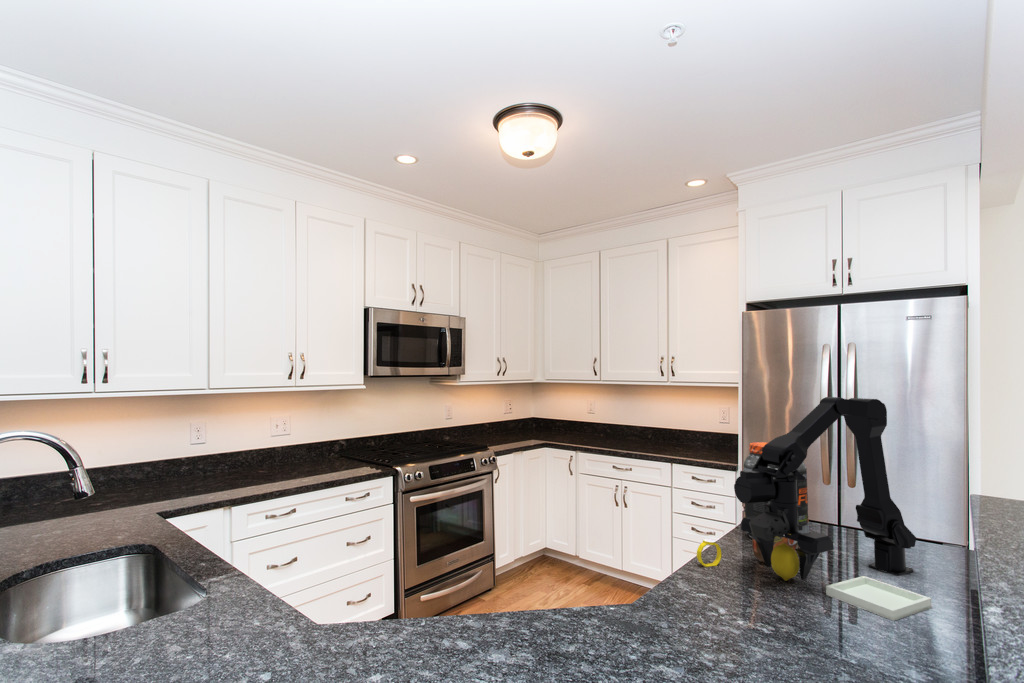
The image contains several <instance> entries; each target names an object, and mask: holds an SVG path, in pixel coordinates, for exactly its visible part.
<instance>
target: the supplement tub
mask: <svg viewBox="0 0 1024 683" xmlns="http://www.w3.org/2000/svg"><path fill="white" fill-rule="evenodd" d="M769 442H770V441H766V442H765V441H759V442H758V441H755V442H750V443H749V449H748V451H749V454H748V455H747V456H746V457H745V459H744V461H743V471H752V469H753V467H754V465H755V464H756V462H757V460H758V459H759V457H760V455H761V454H762V449H763V447H764V446H765V445H766V444H767V443H769ZM768 467H769V466H768ZM769 468H772V467H769ZM773 469H776V468H773ZM777 470H778V469H777ZM797 470H798V471H799V473H800V474H802V475H803V476H804V477H805V480H797V503H798V506H802V511H799V512H798V524H799V525H802V529H803V530H800V531H799V533H808V532H810V526H809V525H810V524H809V523H810V522H809V501H808V500H809V499H808V498H809V496H808V472H807V467H806V463H805V462H804V461H803V463H802V464H801V466H800V467H799V468H798V469H797ZM765 504H769V502H759V503H744V510H745V511H744V516H745V517H751V516H758V515H760V514H762V513H763V512H764V506H765ZM747 533H749V532H746V534H747ZM749 537H750V538H752V537H751V536H749Z"/></svg>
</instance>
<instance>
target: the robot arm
mask: <svg viewBox="0 0 1024 683" xmlns="http://www.w3.org/2000/svg"><path fill="white" fill-rule="evenodd" d="M887 413H888V410H887V406H886V404H885V403H883V401H881V400H879V399H878V398H862V397H861V398H859V397H850V398H843V397H838V396H836V397H835V396H826V397H824V398H822V399H821V400H820V401H819V404H817V406H815V407H814V408H813V409H812V410H811V411H810V412H809V413H808V414H807V415H806V416H805V417H804V418H803V419H801V421H800V422H798V423H797V424H796V425H795V426H794V427H793V428H792V429H791V430H790V431H789V432H787V433H785V434H782V435H780V436H777V437H774V438H773V439H772V440H770V441H768V442H769V443H767V444H766V445H765V446H764V447H763V449H762V454H761V455H760V457H759V459H758V460H757V462H756V464H755V465H754V467H753V469H752V471H744V470H740V471H739V476H738V477H737V478H736V480H735V483H734V484H733V489H734V494H735V497H736V499H738V501H739V502H740V503H741V504H745V503H759V502H769V504H765V506H764V512H763V513H762V514H760V515H758V516H751V517H743V518H742V520H741V521H740V529H741V531H743V532H746V534H747V535H748V537H750V536H751V537H750V538H751V539H752V538H753V539H754V540H755V541H756V542H757V544H758V546H759V549H760V551H761V554H762V556H763V559H764V561H765V562H764V565H765V566H766V567H767V568H770V567H771V568H772V564H771V554H772V551H773V545H774V538H775V537H776V536H778V537H785V538H788V539H791V540H794V541H797V542H798V545H799V548H797V549H795V550H796V552H797V555H798V559H799V576H800V580H801V581H805V580H806V579H807V578H808V576H809V574H810V571H811V569H812V568H813V566H814V563H815V561H816V560H817V559H818V557H819V556H820V554H821V553H826V552H829V551H833V550H834V542H833V539H832V538H831V537H830V535H827V534H825V533H821V532H817V531H809V532H808V533H799V531H800V530H803V529H802V525H799V524H798V512H799V511H802V506H798V503H797V480H805V477H804V476H803V475H802V474H800V473H799V471H798V470H797V469H798V468H799V467H800V466H801V464H802V463H803V462H804V461H806V459H807V456H808V449H809V448H810V447H811V446H812V444H814V443H815V442H816V441H817V440H818V439H819V438H820V437H821V436H822V435H823V434H824V433H825V432H826V431H827V430H828V429H829V428H830V427H831V426H833V424H834V423H835V422H836V421H837V420H839V419H840V417H843V419H844V421H845V424H846V426H847V428H848V429H849V430H850V431H851V433H852V434H853V435H854V437H855V443H856V448H857V449H856V450H857V456H858V462H859V470H860V474H861V481H862V487H863V494H864V496H863V497H864V498H863V499H862V500H861V503H860V504H856V505H855V511H856V516H857V519H856V522H857V523H859V525H860V528H861V529H862V531H863V534H864V537H865V538H867V539H868V538H869V539H872V540H874V542H873V545H874V549H873V553H874V562H872V563H868V567H869V568H873V569H876V570H879V571H881V570H882V572H885V573H889V574H892V575H895V576H901V575H905V574H909V573H912V572H914V568H912V567H909V566H907V562H906V560H907V559H906V549H908V550H909V549H911V548H915V547H916V542H917V537H916V536H915V535H914V533H913V532H912V531H911V530H910V529H909V528H908V527H907V526H906V525H905V521H904V518H903V515H902V512H901V510H900V508H899V507H898V506H897V505H896V503H895V502H894V500H893V499H892V497H891V493H890V488H889V487H890V485H889V481H888V480H889V479H888V474H887V467H886V461H885V455H884V448H883V442H882V435H883V433H884V431H885V429H886V427H887V426H888V414H887ZM768 466H769V467H772V468H769V467H768ZM773 468H776V469H773ZM777 469H778V470H777ZM747 532H749V533H747ZM789 534H791V535H789Z"/></svg>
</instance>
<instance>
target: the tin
mask: <svg viewBox="0 0 1024 683" xmlns="http://www.w3.org/2000/svg"><path fill="white" fill-rule="evenodd" d="M789 535H791V534H789ZM751 540H752V543H751V544H752V546H751V547H752V551H753V554H754V557H755V558H756V559H757V561H760V562H763V563H765V561H764V559H763V556H762V554H761V551H760V549H759V546H758V544H757V542H756V541H755V540H754V539H753V538H752V537H751ZM783 543H785V544H787V545H788V546H790V547H791V548H793V549H794V550H795V549H797V548H800V547H799V545H798V542H797V541H794V540H791V539H788V538H785V537H778V536H776V537H775V538H774V545H773V549H774V548H775V547H776V546H778V545H781V544H783ZM795 552H796V550H795ZM796 553H797V552H796ZM797 554H798V553H797Z"/></svg>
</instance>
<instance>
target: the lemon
mask: <svg viewBox="0 0 1024 683" xmlns="http://www.w3.org/2000/svg"><path fill="white" fill-rule="evenodd" d="M771 568H772V570H773V571H774V572H775V574H776V575H777V576H778V577H780V578H782V580H784V581H785V582H787V581H789V580H790V579H793V578H795V577H796V576H797V574H798V573H799V572H800V562H799V554H798V553H796V552H795V550H794V549H793V548H791V547H790V546H788V545H787V544H785V543H783V544H781V545H778V546H776V547H775V548H774V549H773V551H772V554H771Z"/></svg>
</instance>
